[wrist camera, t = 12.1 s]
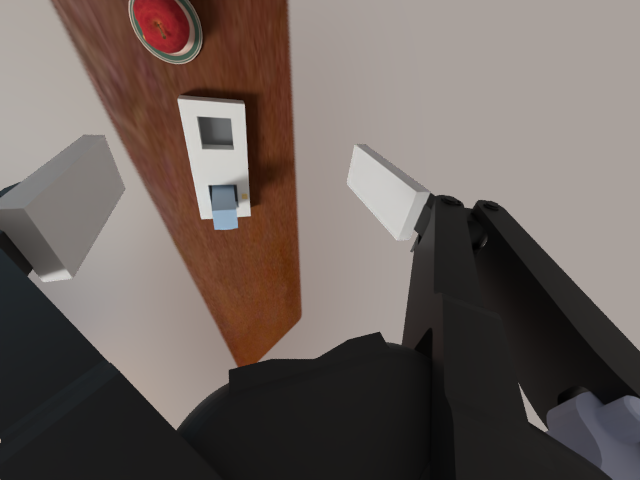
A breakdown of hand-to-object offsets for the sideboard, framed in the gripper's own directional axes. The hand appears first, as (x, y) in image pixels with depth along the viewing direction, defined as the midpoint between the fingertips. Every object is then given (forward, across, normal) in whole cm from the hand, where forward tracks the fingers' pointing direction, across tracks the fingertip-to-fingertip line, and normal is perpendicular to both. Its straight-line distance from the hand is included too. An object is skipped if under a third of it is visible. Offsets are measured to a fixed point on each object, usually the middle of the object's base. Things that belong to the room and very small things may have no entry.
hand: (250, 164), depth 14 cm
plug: (+31, -2, -18) cm, 36 cm away
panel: (+32, -2, -12) cm, 34 cm away
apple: (+32, -7, +6) cm, 33 cm away
